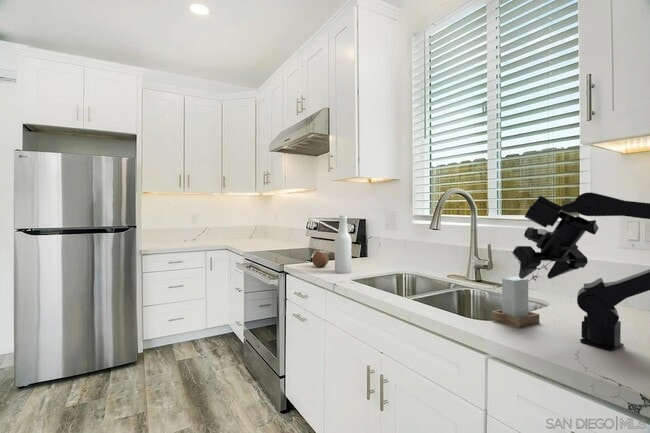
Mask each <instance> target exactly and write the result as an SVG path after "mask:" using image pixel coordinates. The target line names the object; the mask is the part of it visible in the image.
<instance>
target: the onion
mask: <svg viewBox="0 0 650 433" xmlns="http://www.w3.org/2000/svg"><path fill="white" fill-rule="evenodd" d="M311 261H312V264H313V265H314V266H315V267H316V268H321V267H322V268H326V266H327V264H329V256H328V255H327V253H326V252H323V251H316V252H315V253H314V254H313V256H312V259H311Z"/></svg>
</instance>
